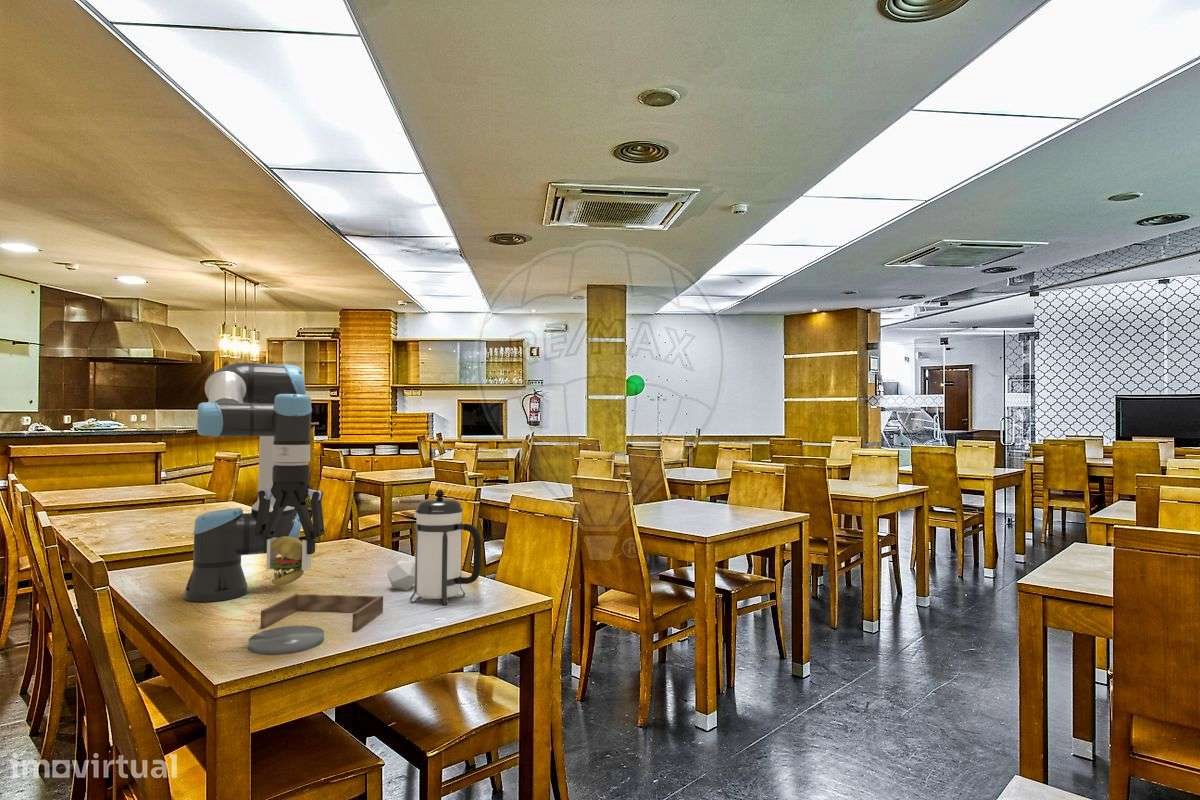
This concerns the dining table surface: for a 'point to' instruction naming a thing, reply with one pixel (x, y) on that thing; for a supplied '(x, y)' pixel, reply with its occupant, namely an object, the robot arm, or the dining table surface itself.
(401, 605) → the dining table surface
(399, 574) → the die
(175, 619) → the dining table surface
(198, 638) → the dining table surface
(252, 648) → the plate
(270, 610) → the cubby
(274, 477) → the robot arm
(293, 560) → the hamburger
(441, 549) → the coffee press
